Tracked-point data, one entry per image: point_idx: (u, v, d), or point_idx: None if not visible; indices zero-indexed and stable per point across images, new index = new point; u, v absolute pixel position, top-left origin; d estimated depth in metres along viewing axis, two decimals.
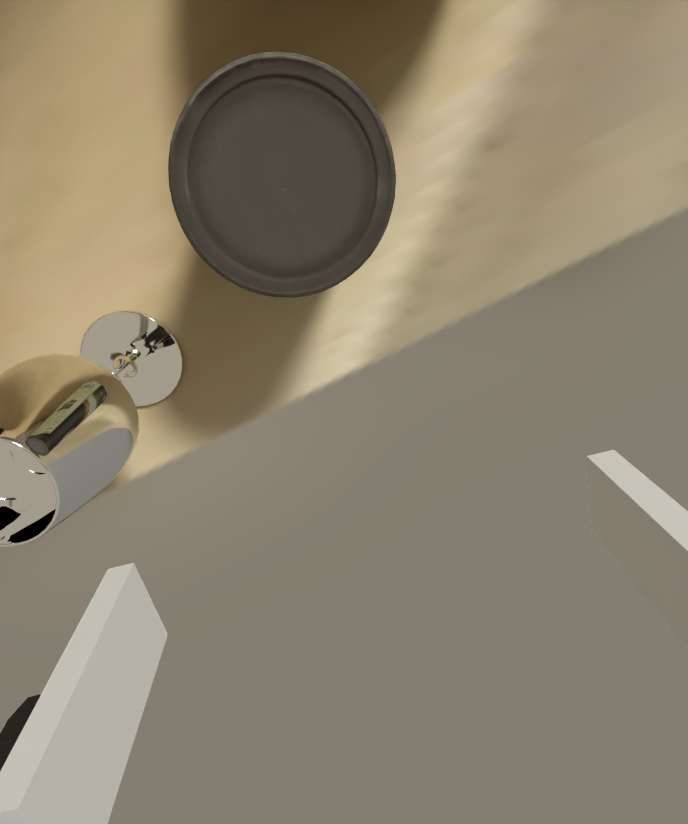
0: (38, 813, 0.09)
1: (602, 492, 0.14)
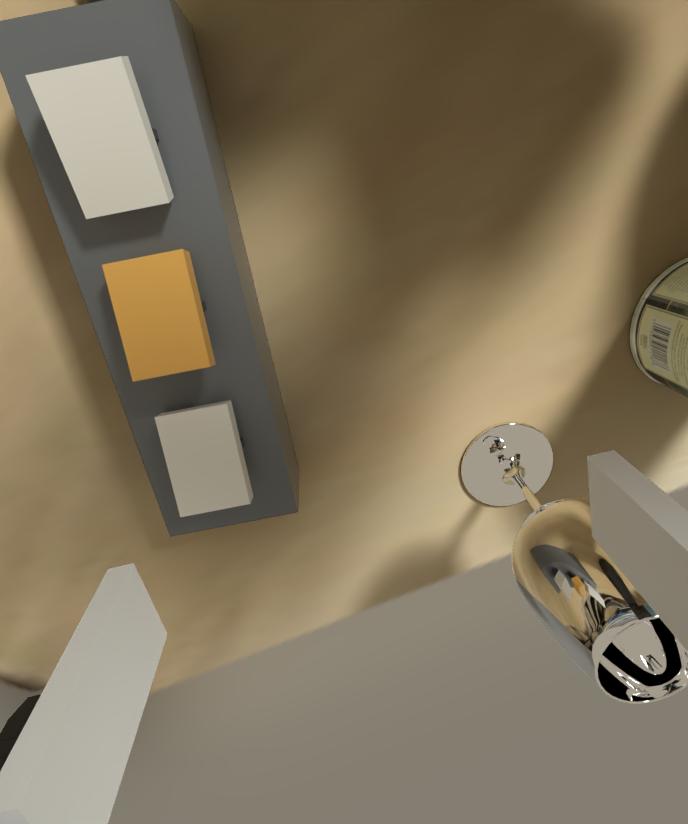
0: (38, 813, 0.09)
1: (602, 492, 0.14)
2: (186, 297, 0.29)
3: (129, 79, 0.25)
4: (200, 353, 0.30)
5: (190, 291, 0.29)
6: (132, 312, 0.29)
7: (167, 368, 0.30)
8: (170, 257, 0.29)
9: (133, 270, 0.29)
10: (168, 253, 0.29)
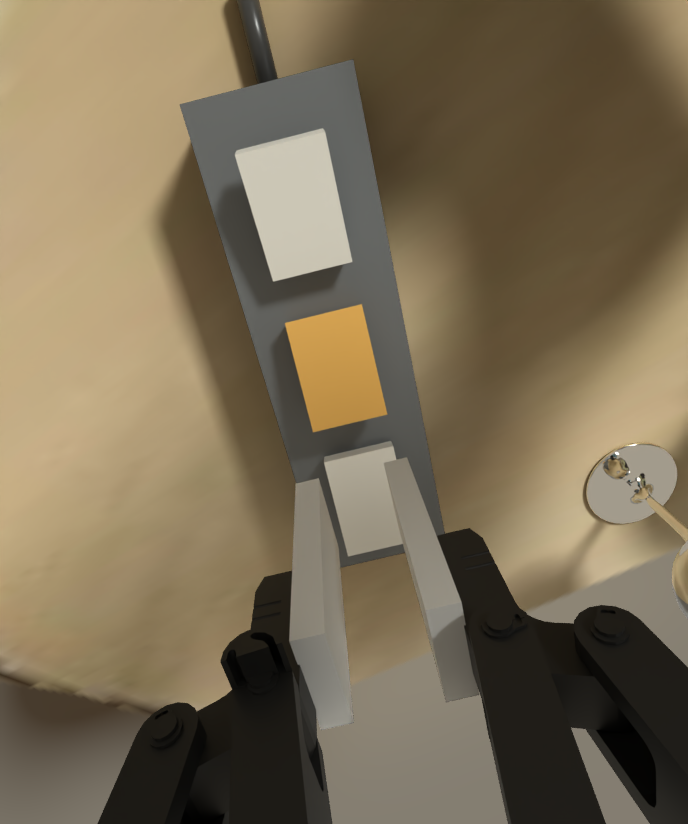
0: (330, 643, 0.11)
1: (391, 494, 0.17)
2: (364, 350, 0.30)
3: None
4: (378, 402, 0.31)
5: (368, 344, 0.30)
6: (313, 366, 0.30)
7: (346, 417, 0.31)
8: (350, 312, 0.30)
9: (315, 326, 0.30)
10: (348, 309, 0.30)
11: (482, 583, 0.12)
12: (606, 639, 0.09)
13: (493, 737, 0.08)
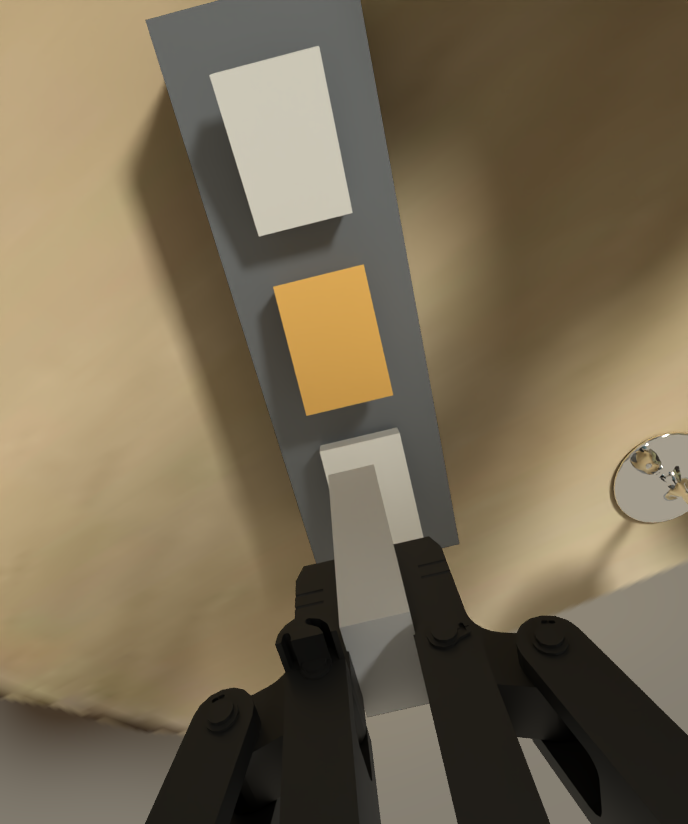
0: None
1: None
2: (367, 318, 0.26)
3: (324, 73, 0.21)
4: (382, 380, 0.26)
5: (371, 312, 0.26)
6: (306, 339, 0.26)
7: (345, 398, 0.27)
8: (349, 274, 0.25)
9: (308, 291, 0.26)
10: (347, 270, 0.25)
11: (436, 592, 0.12)
12: (547, 650, 0.10)
13: (441, 749, 0.08)
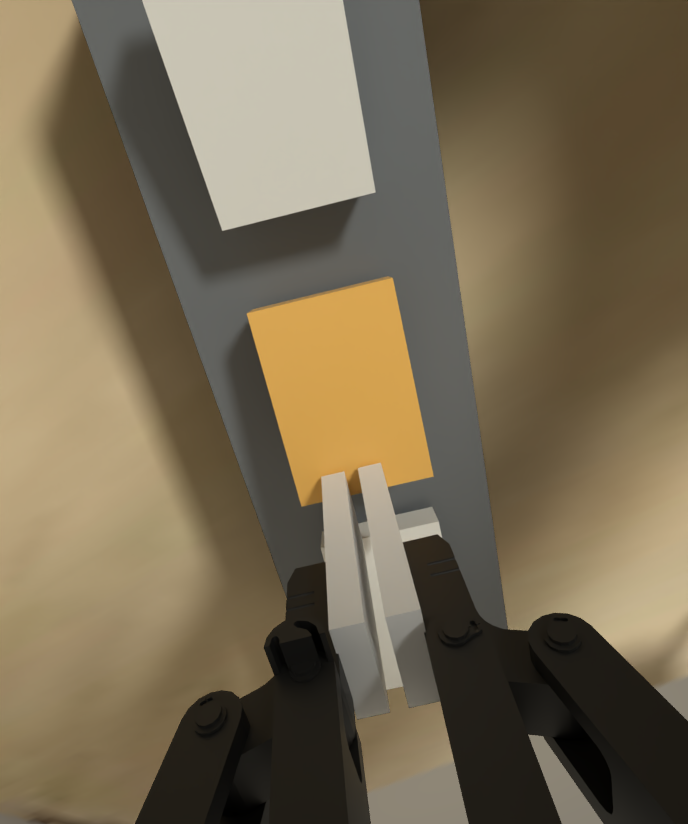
0: (369, 632, 0.11)
1: None
2: (396, 363, 0.16)
3: None
4: (417, 455, 0.17)
5: (403, 352, 0.16)
6: (301, 394, 0.17)
7: (359, 482, 0.17)
8: (370, 294, 0.16)
9: (304, 320, 0.16)
10: (366, 287, 0.16)
11: (445, 589, 0.12)
12: (559, 647, 0.10)
13: (452, 746, 0.08)
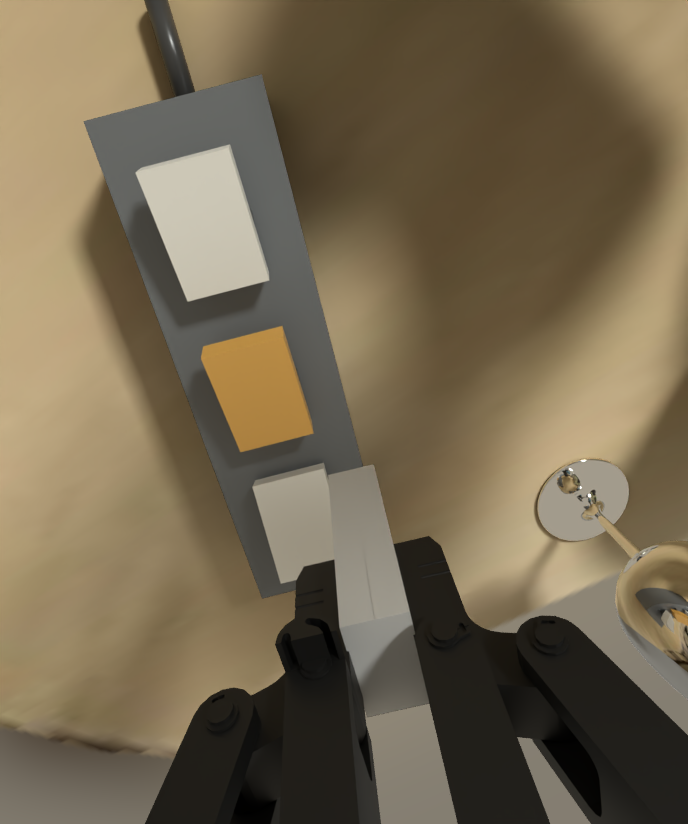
0: None
1: None
2: (288, 379, 0.29)
3: (235, 168, 0.25)
4: (303, 424, 0.31)
5: (292, 373, 0.29)
6: (236, 397, 0.29)
7: (272, 438, 0.31)
8: (271, 346, 0.28)
9: (234, 360, 0.28)
10: (269, 342, 0.28)
11: (435, 592, 0.12)
12: (547, 650, 0.10)
13: (441, 749, 0.08)
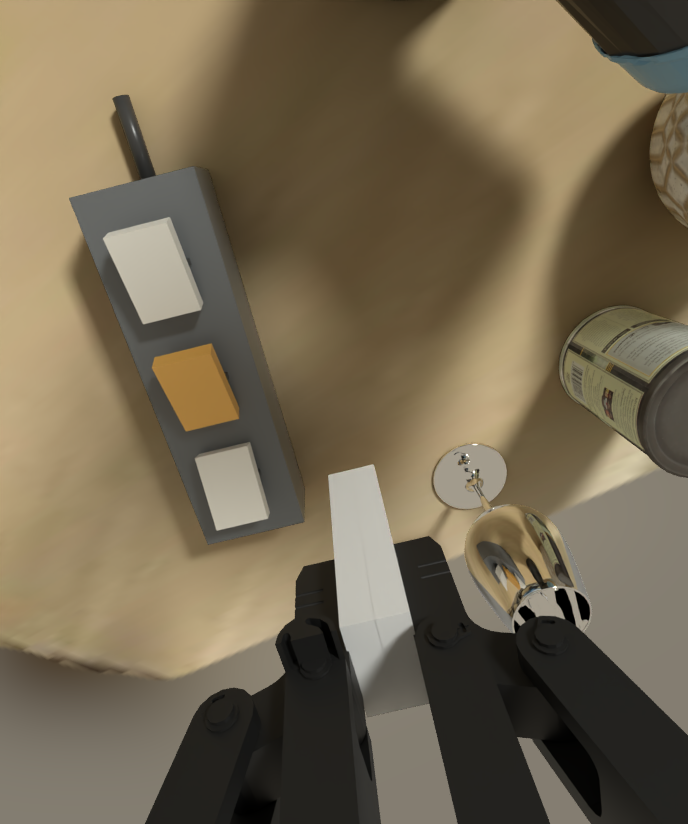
0: None
1: None
2: (217, 381, 0.41)
3: (172, 235, 0.36)
4: (231, 412, 0.42)
5: (219, 377, 0.40)
6: (179, 393, 0.41)
7: (208, 422, 0.43)
8: (202, 359, 0.39)
9: (176, 369, 0.39)
10: (200, 357, 0.39)
11: (435, 592, 0.12)
12: (547, 650, 0.10)
13: (441, 749, 0.08)
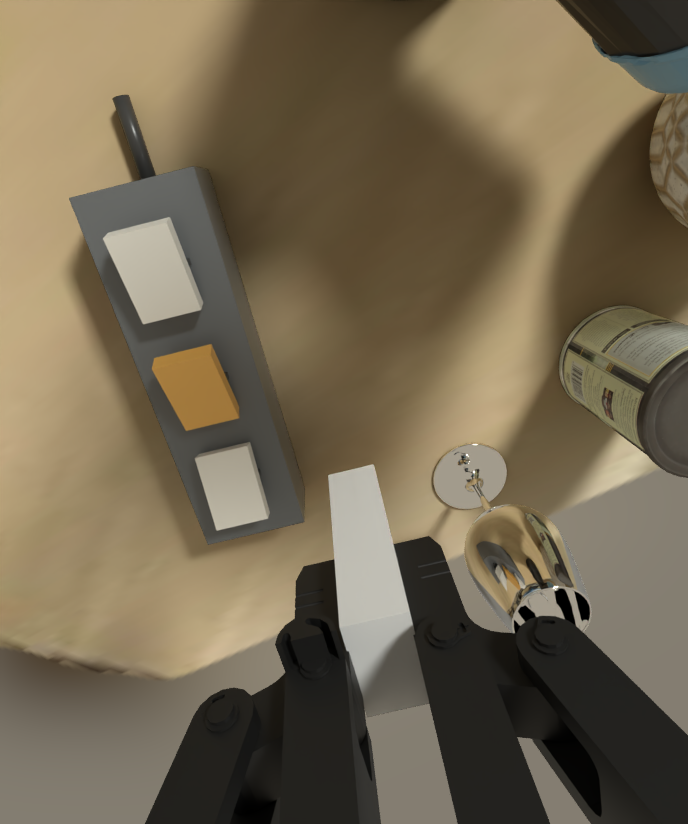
0: None
1: None
2: (217, 382, 0.41)
3: (172, 235, 0.36)
4: (231, 411, 0.43)
5: (219, 378, 0.40)
6: (179, 394, 0.41)
7: (209, 421, 0.43)
8: (202, 360, 0.39)
9: (176, 370, 0.39)
10: (200, 358, 0.39)
11: (435, 592, 0.12)
12: (546, 650, 0.10)
13: (441, 749, 0.08)
